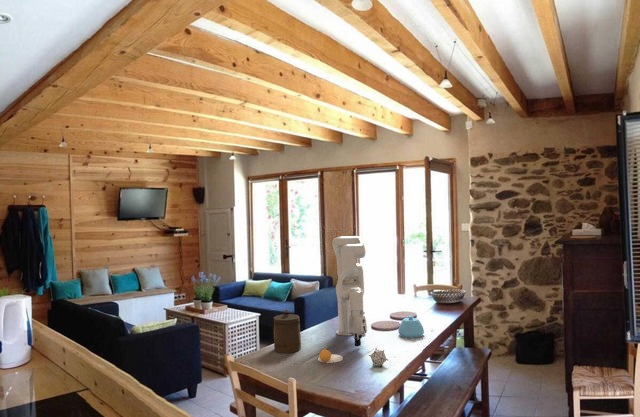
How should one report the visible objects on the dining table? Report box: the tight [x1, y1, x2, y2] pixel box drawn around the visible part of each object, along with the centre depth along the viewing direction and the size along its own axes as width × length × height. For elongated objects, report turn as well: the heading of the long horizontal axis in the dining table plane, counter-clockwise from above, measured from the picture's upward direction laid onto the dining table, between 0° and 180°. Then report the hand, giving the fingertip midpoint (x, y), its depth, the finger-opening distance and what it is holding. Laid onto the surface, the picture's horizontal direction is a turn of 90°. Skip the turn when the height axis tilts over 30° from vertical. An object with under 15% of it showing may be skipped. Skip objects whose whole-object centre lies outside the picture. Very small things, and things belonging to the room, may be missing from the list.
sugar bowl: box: [398, 315, 425, 339], centre depth 289 cm, size 15×15×12 cm
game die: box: [368, 348, 389, 368], centre depth 238 cm, size 9×8×10 cm
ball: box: [318, 349, 332, 363], centre depth 246 cm, size 6×6×6 cm
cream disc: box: [317, 353, 344, 364], centre depth 251 cm, size 13×13×1 cm
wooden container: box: [273, 309, 302, 354], centre depth 270 cm, size 15×15×22 cm
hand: (357, 345), depth 267 cm, fingers closed
